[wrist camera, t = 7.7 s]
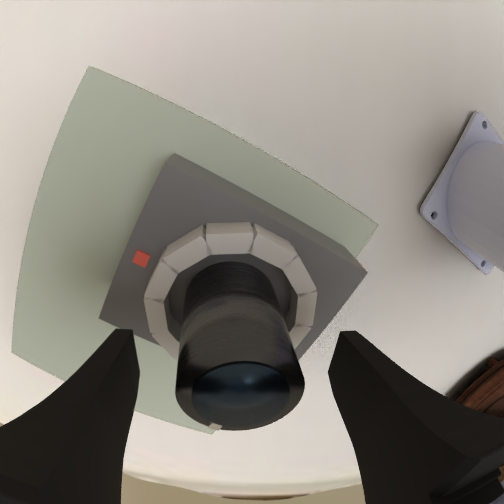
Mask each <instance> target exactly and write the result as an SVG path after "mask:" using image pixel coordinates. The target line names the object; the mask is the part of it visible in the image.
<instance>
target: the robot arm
mask: <svg viewBox="0 0 504 504" xmlns="http://www.w3.org/2000/svg"><path fill="white" fill-rule="evenodd" d="M482 122H483V127H482ZM432 212H434V214H433V216H432V217H431V214H432ZM420 214H421V215H422V217H424V218H425V219H426V220H427V221H428V222H429V223H430V224H432V225H433V226H434V227H435V228H436V229H437V230H438V231H439V232H441V233H442V234H443V235H444V236H445V237H446V238H447V239H448V240H449V241H450V242H452V243H453V244H454V245H455V246H456V247H457V248H458V249H459V250H460V251H461V252H462V253H463V254H464V255H465V256H466V257H467V258H468V259H469V260H470V261H471V262H472V263H473V264H474V265H475V266H476V267H477V268H478V269H479V270H480V271H481V272H483V273H484V274H488V273H490V271H491V270H492V268H493V267H494V266H496V267H497V268H498V269H500V270H501V271H503V272H504V142H503V141H502V139H501V138H500V136H499V135H498V133H497V132H496V131H495V129H494V128H493V127H492V125H491V124H490V122H489V121H488V120H487V119H486V117H485V116H484V115H483V113H481V112H477V111H476V112H474V113H473V115H472V117H471V119H470V121H469V122H468V124H467V126H466V128H465V130H464V132H463V134H462V136H461V138H460V140H459V142H458V143H457V145H456V147H455V149H454V151H453V153H452V154H451V156H450V158H449V160H448V162H447V163H446V165H445V167H444V169H443V170H442V172H441V174H440V175H439V177H438V179H437V181H436V182H435V184H434V186H433V187H432V189H431V191H430V192H429V194H428V195H427V197H426V199H425V200H424V202H423V204H422V205H421V207H420ZM328 375H329V379H330V384H331V388H332V392H333V395H334V398H335V401H336V403H337V406H338V408H339V411H340V414H341V416H342V419H343V421H344V424H345V426H346V429H347V431H348V434H349V436H350V439H351V441H352V444H353V447H354V450H355V454H356V458H357V462H358V466H359V470H360V475H361V480H362V485H363V489H364V495H365V502H366V504H504V480H503V481H502V482H501V483H500V481H499V479H498V477H500V476H501V471H500V469H499V466H500V465H501V464H502V463H504V419H503V418H499V417H495V416H491V415H488V414H485V413H482V412H479V411H477V410H474V409H471V408H469V407H466V406H464V405H462V404H460V403H458V402H455V401H453V400H451V399H449V398H447V397H445V396H444V395H442V394H440V393H438V392H436V391H435V390H433V389H431V388H430V387H428V386H426V385H425V384H423V383H422V382H420V381H419V380H417V379H416V378H415V377H413V376H412V375H410V374H409V373H408V372H406V371H405V370H404V369H402V368H401V367H400V366H398V365H397V364H396V363H395V362H393V361H392V360H391V359H390V358H388V357H387V356H386V355H385V354H384V353H382V352H381V351H380V350H379V349H378V348H376V347H375V346H374V345H373V344H372V343H370V342H369V341H368V340H367V339H366V338H364V337H363V336H362V335H361V334H359V333H358V332H357V331H340V334H339V337H338V340H337V344H336V347H335V351H334V354H333V357H332V360H331V363H330V367H329V370H328ZM139 379H140V368H139V363H138V357H137V352H136V346H135V340H134V334H133V330H132V329H118V328H116V329H115V330H114V331H113V332H112V333H111V334H110V335H109V336H108V337H107V338H106V340H105V341H104V342H103V343H102V344H101V345H100V346H99V347H98V348H97V350H96V351H95V352H94V353H93V354H92V355H91V356H90V357H89V358H88V359H87V360H86V361H85V362H84V364H83V365H82V366H81V367H80V368H79V369H78V370H77V371H76V372H75V373H74V374H73V375H72V376H70V377H69V378H68V379H67V380H66V381H65V382H64V383H63V384H62V385H61V386H60V387H59V388H58V389H56V390H55V391H54V392H53V393H52V394H50V395H49V396H48V397H47V398H45V399H44V400H43V401H41V402H40V403H39V404H37V405H36V406H34V407H33V408H31V409H30V410H28V411H27V412H25V413H24V414H22V415H21V416H19V417H17V418H16V419H14V420H12V421H10V422H9V423H7V424H5V425H3V426H1V427H0V504H121V483H122V469H123V458H124V452H125V447H126V442H127V438H128V433H129V429H130V425H131V421H132V417H133V413H134V408H135V404H136V400H137V395H138V387H139Z"/></svg>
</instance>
